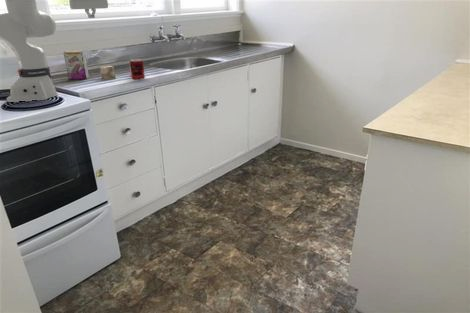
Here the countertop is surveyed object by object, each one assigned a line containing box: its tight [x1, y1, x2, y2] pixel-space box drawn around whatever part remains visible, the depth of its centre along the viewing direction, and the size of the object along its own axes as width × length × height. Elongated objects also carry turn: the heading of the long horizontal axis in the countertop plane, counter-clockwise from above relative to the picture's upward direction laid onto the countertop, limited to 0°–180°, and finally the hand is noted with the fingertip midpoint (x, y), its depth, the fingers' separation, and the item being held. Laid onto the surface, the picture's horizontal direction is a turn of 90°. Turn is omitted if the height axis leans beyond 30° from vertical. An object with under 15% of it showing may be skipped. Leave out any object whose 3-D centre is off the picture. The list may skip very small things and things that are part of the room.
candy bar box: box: [63, 50, 90, 80], centre depth 217 cm, size 11×5×16 cm, turn 92°
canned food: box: [129, 58, 146, 80], centre depth 215 cm, size 8×8×11 cm
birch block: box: [99, 65, 116, 80], centre depth 218 cm, size 6×6×7 cm
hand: (91, 18), depth 191 cm, fingers closed
